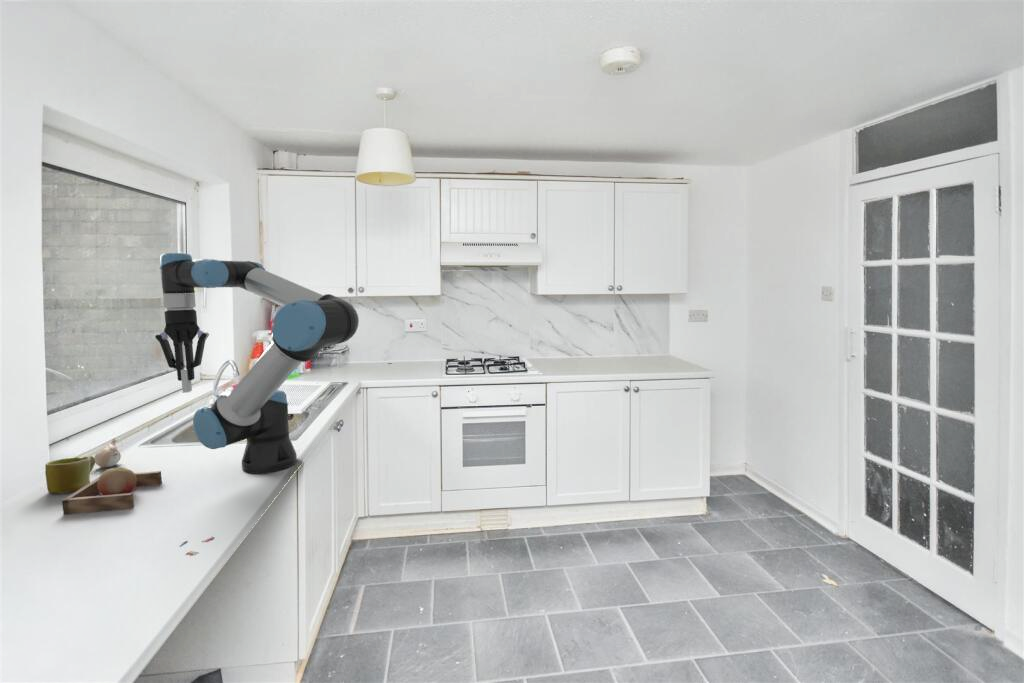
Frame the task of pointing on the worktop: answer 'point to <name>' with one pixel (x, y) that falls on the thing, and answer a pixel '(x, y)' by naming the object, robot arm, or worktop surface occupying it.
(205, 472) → the worktop surface
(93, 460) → the mug
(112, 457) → the garlic bulb
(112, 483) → the fruit
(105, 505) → the wooden frame
